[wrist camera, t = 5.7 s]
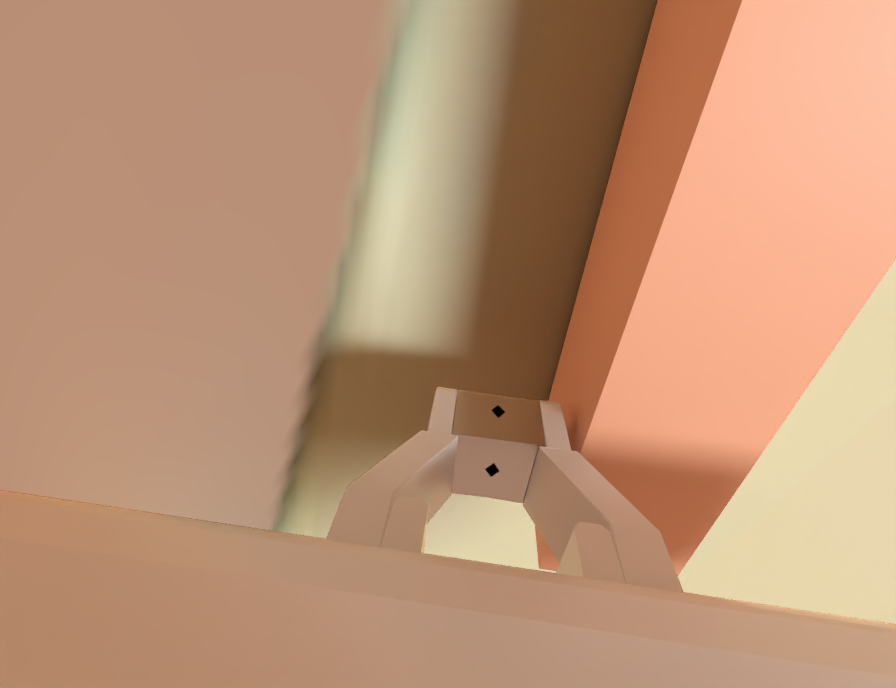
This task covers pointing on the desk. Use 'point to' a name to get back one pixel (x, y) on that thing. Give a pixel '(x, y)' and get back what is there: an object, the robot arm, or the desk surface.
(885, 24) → the stool leg
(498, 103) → the desk surface
